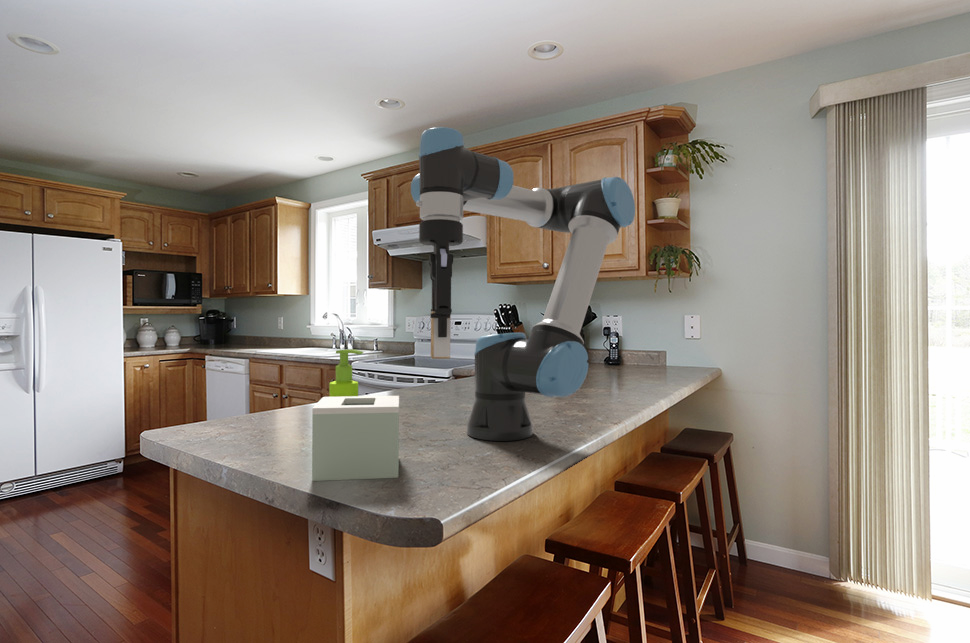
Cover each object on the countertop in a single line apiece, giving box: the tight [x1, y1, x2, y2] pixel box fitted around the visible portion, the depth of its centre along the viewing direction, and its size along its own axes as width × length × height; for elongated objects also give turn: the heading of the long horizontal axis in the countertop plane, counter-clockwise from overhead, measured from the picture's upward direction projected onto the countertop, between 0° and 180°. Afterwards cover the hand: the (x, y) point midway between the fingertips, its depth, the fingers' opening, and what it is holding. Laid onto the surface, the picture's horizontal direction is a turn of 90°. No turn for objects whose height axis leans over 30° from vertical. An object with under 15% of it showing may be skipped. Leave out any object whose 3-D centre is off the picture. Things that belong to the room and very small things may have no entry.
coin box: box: [311, 395, 400, 482], centre depth 94 cm, size 14×12×12 cm
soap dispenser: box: [328, 348, 364, 397], centre depth 111 cm, size 6×7×20 cm
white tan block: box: [430, 310, 451, 360], centre depth 92 cm, size 5×3×8 cm, turn 9°
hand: (440, 355), depth 92 cm, fingers closed on white tan block, 5 cm apart
